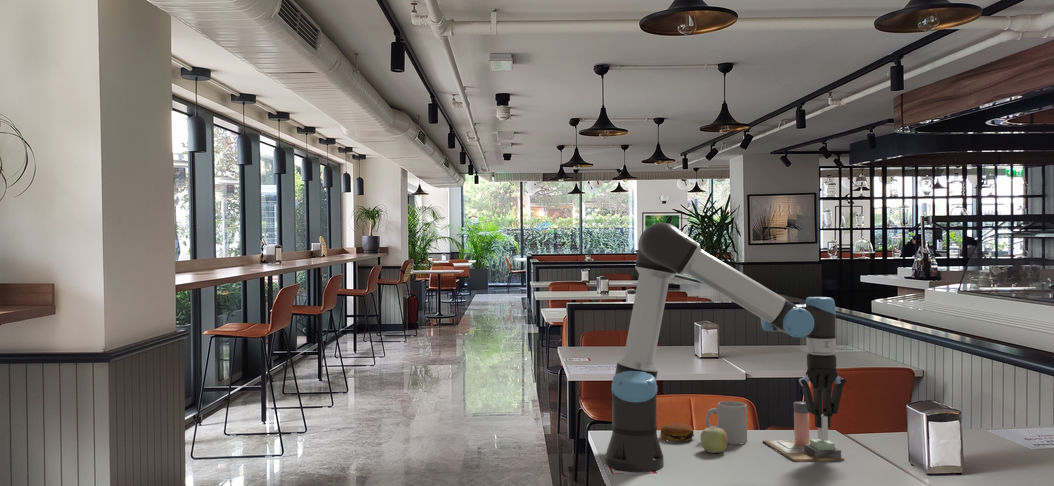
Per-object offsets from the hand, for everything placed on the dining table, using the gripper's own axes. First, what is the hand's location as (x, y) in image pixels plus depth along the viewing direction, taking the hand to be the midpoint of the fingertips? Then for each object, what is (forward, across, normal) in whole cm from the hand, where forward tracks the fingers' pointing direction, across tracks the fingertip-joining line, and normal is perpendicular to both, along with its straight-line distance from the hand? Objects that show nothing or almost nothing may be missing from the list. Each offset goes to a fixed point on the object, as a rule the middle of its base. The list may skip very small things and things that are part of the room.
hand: (822, 439), depth 193 cm
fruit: (+5, -28, +7) cm, 29 cm away
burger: (+5, -34, +22) cm, 41 cm away
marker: (+4, -1, +10) cm, 11 cm away
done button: (+2, 0, 0) cm, 2 cm away
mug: (+5, -20, +19) cm, 28 cm away
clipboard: (+5, -3, +6) cm, 8 cm away
